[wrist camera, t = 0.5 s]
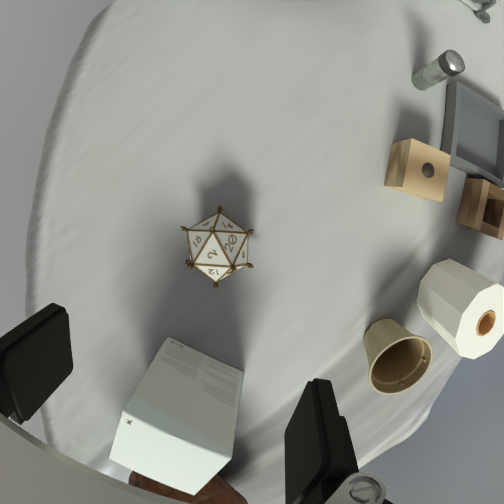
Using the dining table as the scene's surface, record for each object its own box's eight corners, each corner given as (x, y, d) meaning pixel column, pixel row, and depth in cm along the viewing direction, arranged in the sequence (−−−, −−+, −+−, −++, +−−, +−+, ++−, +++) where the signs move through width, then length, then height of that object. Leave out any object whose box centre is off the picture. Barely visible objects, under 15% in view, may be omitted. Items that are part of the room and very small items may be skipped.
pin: (411, 69, 31) (445, 45, 21) (429, 77, 31) (464, 56, 21) (410, 86, 32) (445, 65, 22) (427, 94, 32) (465, 76, 22)
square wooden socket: (465, 178, 34) (483, 179, 30) (494, 192, 34) (511, 195, 29) (456, 222, 36) (473, 227, 31) (485, 234, 36) (502, 240, 31)
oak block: (392, 143, 34) (411, 138, 28) (428, 157, 34) (451, 155, 28) (383, 185, 35) (402, 187, 30) (420, 198, 35) (442, 202, 30)
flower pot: (418, 335, 40) (441, 364, 32) (371, 371, 42) (387, 405, 34) (392, 295, 39) (417, 321, 30) (341, 335, 41) (355, 369, 32)
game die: (221, 222, 42) (212, 179, 33) (269, 258, 39) (272, 220, 30) (177, 268, 39) (154, 234, 30) (223, 309, 37) (212, 285, 27)
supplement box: (145, 387, 45) (106, 458, 28) (167, 334, 42) (120, 409, 25) (213, 419, 46) (195, 497, 29) (246, 371, 43) (234, 459, 26)
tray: (446, 85, 31) (456, 80, 28) (500, 118, 31) (511, 116, 28) (438, 159, 34) (449, 159, 31) (494, 187, 34) (505, 188, 31)
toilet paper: (424, 332, 40) (460, 373, 28) (408, 279, 38) (450, 313, 26) (471, 300, 38) (513, 331, 26) (459, 246, 36) (508, 268, 25)
